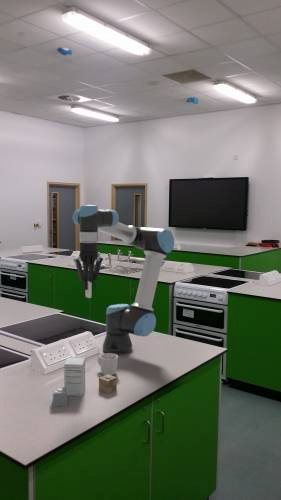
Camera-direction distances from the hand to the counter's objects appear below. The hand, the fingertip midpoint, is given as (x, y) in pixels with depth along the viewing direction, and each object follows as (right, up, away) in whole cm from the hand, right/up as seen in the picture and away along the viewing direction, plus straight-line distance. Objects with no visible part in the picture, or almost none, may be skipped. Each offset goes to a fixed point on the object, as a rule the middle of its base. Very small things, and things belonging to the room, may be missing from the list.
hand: (88, 297), depth 185 cm
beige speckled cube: (+9, -36, -10) cm, 38 cm away
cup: (+7, -34, +7) cm, 36 cm away
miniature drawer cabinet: (-4, -36, -13) cm, 39 cm away
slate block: (-8, -37, -23) cm, 44 cm away
